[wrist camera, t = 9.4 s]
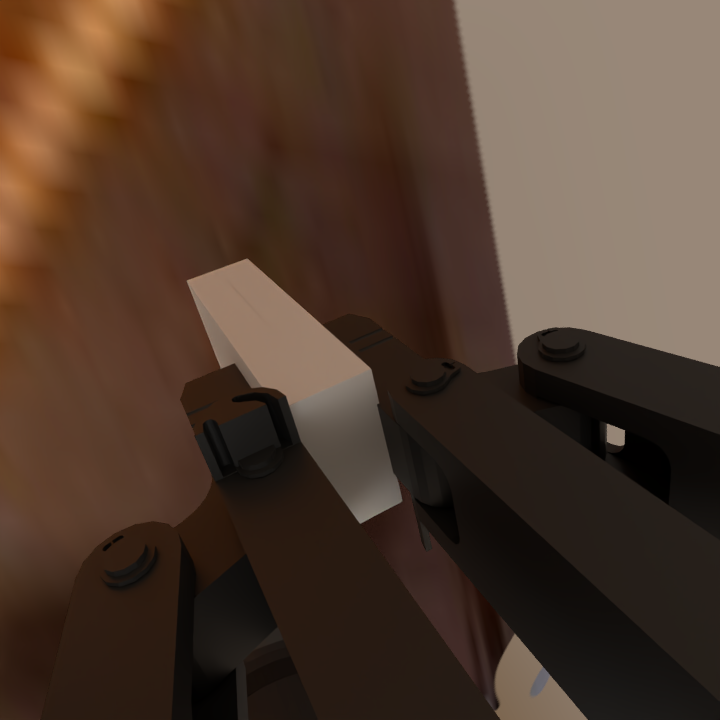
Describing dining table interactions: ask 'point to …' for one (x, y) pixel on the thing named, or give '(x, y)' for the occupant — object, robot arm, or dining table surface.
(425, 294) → the dining table surface
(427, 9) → the dining table surface
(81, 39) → the dining table surface
